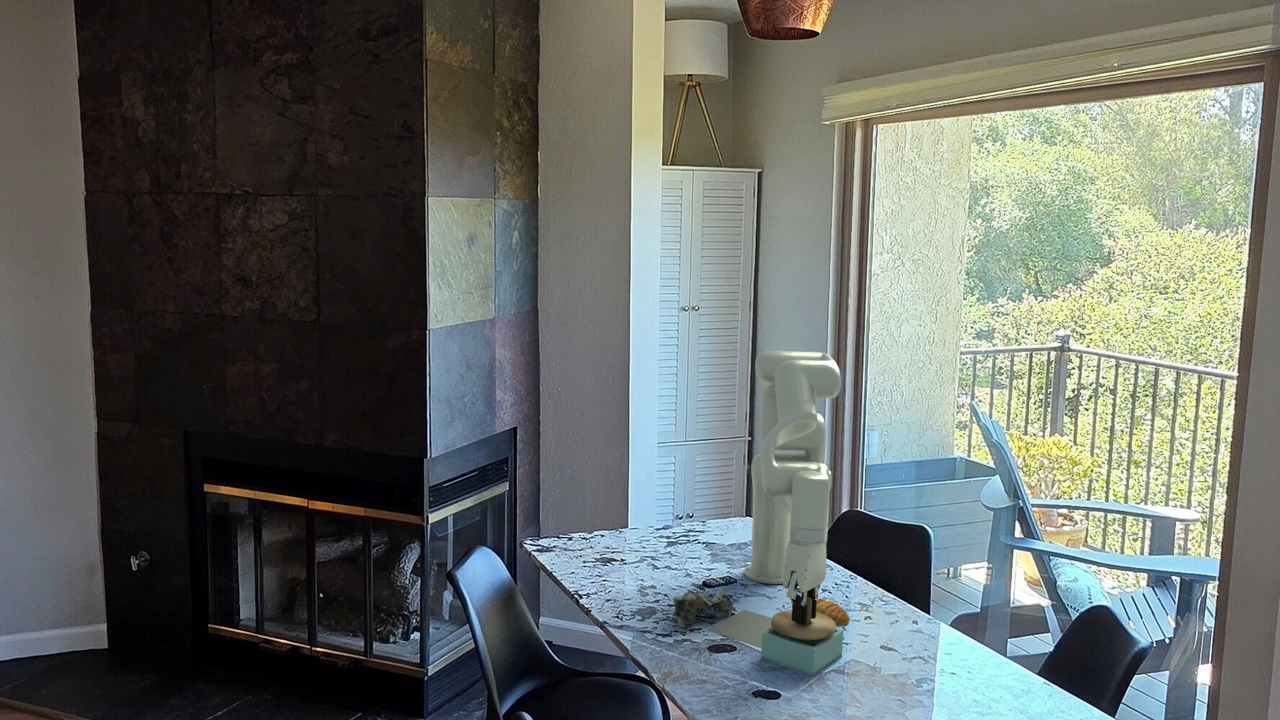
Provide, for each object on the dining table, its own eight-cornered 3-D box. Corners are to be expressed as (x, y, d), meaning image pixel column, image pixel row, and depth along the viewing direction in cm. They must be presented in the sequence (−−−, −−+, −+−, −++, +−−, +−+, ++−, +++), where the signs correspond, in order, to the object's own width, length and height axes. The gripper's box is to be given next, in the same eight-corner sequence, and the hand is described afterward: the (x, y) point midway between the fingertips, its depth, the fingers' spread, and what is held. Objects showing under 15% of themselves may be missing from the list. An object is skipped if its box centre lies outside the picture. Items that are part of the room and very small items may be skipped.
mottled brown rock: (748, 613, 226) (695, 582, 221) (720, 653, 226) (667, 623, 222) (730, 591, 237) (679, 561, 232) (704, 629, 238) (653, 600, 233)
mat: (744, 611, 235) (744, 609, 235) (802, 629, 226) (802, 627, 226) (706, 631, 224) (706, 629, 224) (766, 651, 215) (766, 649, 214)
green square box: (790, 641, 219) (792, 615, 219) (841, 658, 212) (843, 630, 211) (761, 660, 210) (762, 632, 209) (813, 678, 203) (814, 649, 202)
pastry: (856, 624, 230) (857, 607, 230) (835, 631, 226) (836, 614, 226) (825, 610, 238) (826, 594, 237) (805, 616, 234) (805, 600, 233)
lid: (791, 608, 219) (792, 582, 218) (846, 624, 211) (848, 598, 210) (759, 627, 209) (760, 600, 208) (816, 645, 201) (818, 617, 200)
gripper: (811, 519, 216) (807, 603, 219) (771, 538, 203) (766, 627, 206) (844, 527, 211) (839, 612, 214) (804, 547, 198) (799, 637, 201)
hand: (803, 618), depth 210 cm, fingers closed on lid, 3 cm apart
